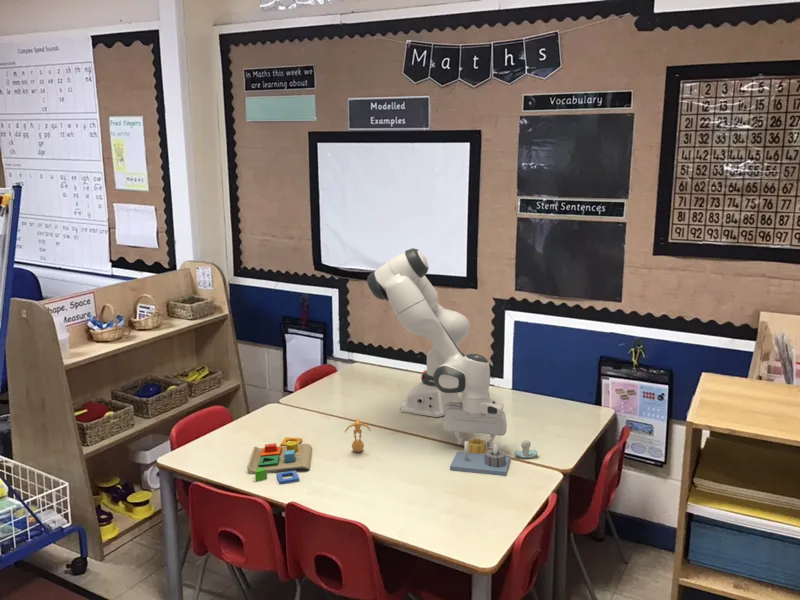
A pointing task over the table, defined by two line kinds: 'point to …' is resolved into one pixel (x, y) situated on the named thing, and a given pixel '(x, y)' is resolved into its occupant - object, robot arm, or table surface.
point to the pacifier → (525, 450)
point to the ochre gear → (476, 446)
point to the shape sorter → (280, 459)
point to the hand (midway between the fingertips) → (474, 445)
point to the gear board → (481, 461)
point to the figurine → (358, 444)
